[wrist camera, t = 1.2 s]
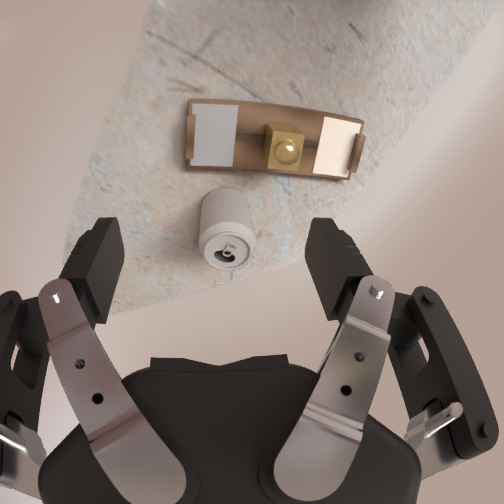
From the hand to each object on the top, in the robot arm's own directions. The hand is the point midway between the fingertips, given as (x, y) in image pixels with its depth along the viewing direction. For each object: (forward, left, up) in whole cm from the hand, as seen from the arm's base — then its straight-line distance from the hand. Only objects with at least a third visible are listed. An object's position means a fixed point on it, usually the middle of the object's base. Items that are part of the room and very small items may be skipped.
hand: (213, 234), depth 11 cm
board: (+4, +9, -30) cm, 32 cm away
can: (+16, +3, -30) cm, 34 cm away
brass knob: (+4, +9, -28) cm, 30 cm away
